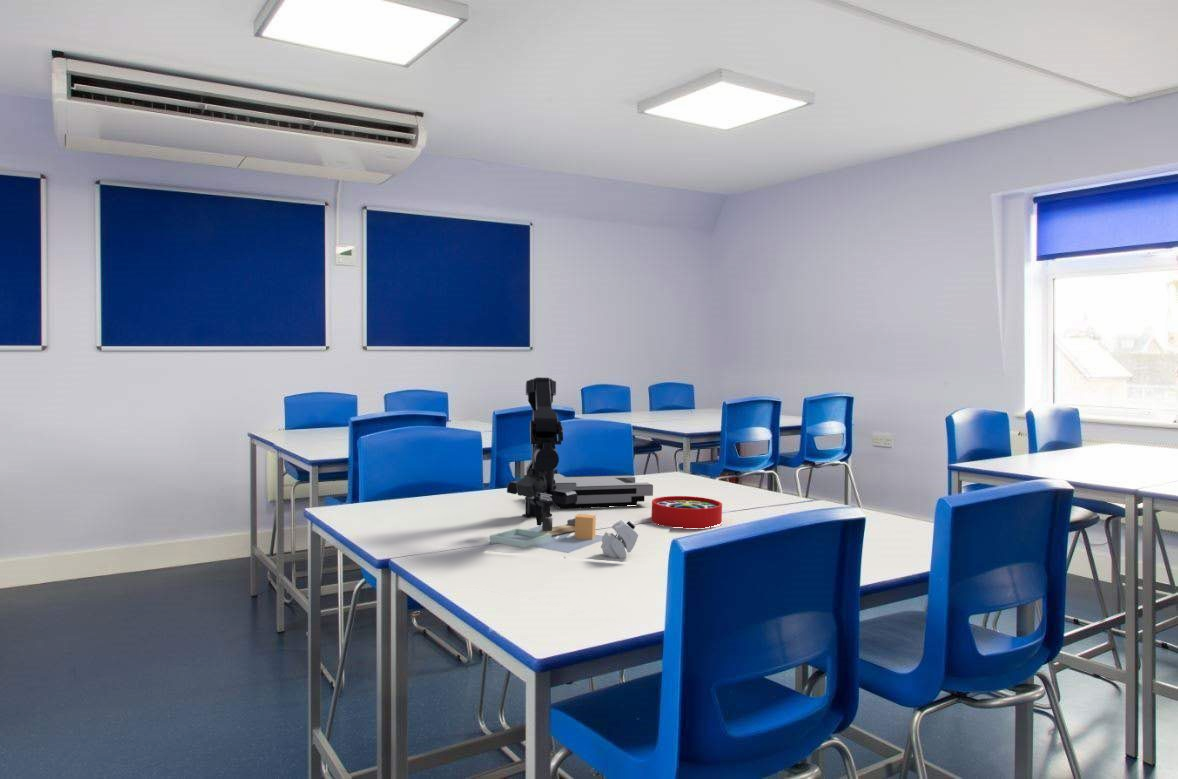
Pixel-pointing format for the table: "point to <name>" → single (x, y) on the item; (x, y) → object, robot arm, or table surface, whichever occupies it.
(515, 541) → the tray
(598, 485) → the office tray
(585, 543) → the crank base
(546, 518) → the crank
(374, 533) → the table surface
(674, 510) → the toy clock
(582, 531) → the block
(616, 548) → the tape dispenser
